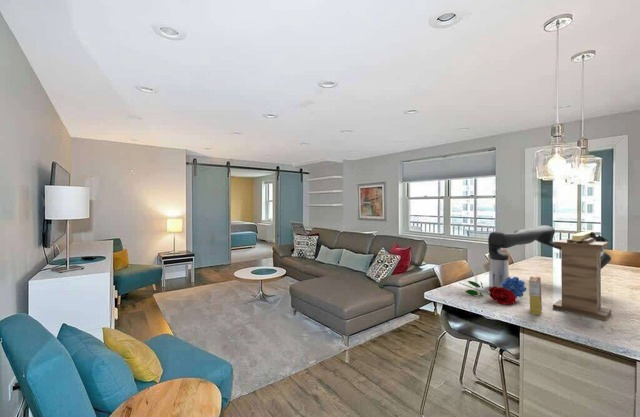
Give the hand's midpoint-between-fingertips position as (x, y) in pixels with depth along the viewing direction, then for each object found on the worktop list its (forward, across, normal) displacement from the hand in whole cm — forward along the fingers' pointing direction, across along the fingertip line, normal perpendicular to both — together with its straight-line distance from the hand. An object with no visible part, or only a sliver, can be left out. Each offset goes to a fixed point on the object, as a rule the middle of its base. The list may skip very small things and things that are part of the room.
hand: (586, 233), depth 138 cm
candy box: (+7, -13, +45) cm, 47 cm away
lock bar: (+6, 0, +6) cm, 8 cm away
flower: (+5, -36, +44) cm, 57 cm away
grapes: (-4, -26, +38) cm, 46 cm away
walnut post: (-7, 0, +37) cm, 37 cm away
